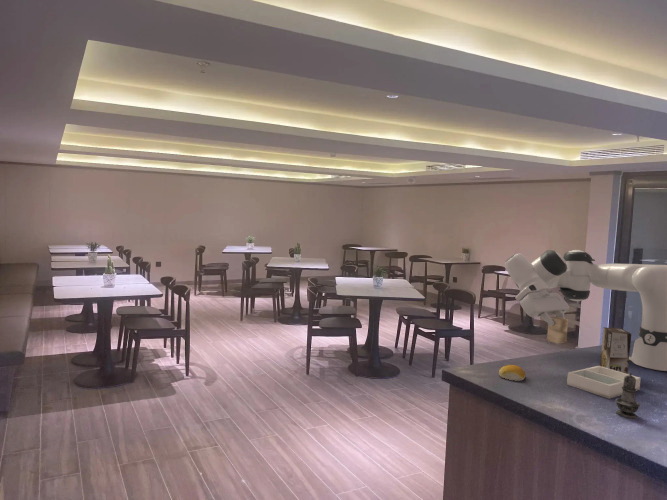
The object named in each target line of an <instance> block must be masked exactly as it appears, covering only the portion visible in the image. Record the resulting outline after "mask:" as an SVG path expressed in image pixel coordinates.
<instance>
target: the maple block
mask: <svg viewBox="0 0 667 500" xmlns="http://www.w3.org/2000/svg"><path fill="white" fill-rule="evenodd" d="M550 318H551V319H554V321H555V322H556V324H555V325H554V326H549V324H548V323H547V335H546V336H547V337H546V341H547V342H551V343H553V344H564V343H567V341H568V340H567V338H568V326H569V319H568V318H560V317H557V316H553V317H550Z"/></svg>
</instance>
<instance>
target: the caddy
mask: <svg viewBox="0 0 667 500" xmlns="http://www.w3.org/2000/svg"><path fill="white" fill-rule="evenodd" d="M629 374H630V373H628V374H626V373H622V372H619V371H615V370H612V369H608V368H605V367H601V366H600V365H596V366H592V367H586V368H582V369H578V370H573V371H569V372H567V377H566V379H567V380H566V386H571V387H573V388H575V389H579V390H582V391H585V392H588V393H591V394H593V395H595V396H596V395H598V396H600V397H602V398H606V399H609V400H610V399H613V398H617V397H621V396H622V391H623V389H622V387H623V384H624V377H625V376H628V375H629ZM631 376H633V377H634V378H635V379H636V384H635V389H636V390H637V391H640V389H641V377H639V376H635V375H634V374H632V375H631Z"/></svg>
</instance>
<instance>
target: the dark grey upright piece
mask: <svg viewBox="0 0 667 500" xmlns="http://www.w3.org/2000/svg"><path fill="white" fill-rule="evenodd" d="M628 374H629V375H628V376H625V377H624V384H623V387H622V389H623V391H622V395H620V398H619V397H618V398H616V399H615V403H616V406H617V408H618V410H616V411H615V414H616V415H617V416H619V417H622V418H626V419H630V420H631V419H634V420H635V419H638V415H637V414H636V412H637V411H638V410H639V407H640V406H641V404H640V403H639V402H637V401H636V392H637V391H638V390H636V389H635V384H636V379H635V378H634V377H633V376H634V375H633V374H632V372H629V373H628ZM631 375H633V376H631Z"/></svg>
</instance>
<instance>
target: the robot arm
mask: <svg viewBox="0 0 667 500" xmlns="http://www.w3.org/2000/svg"><path fill="white" fill-rule="evenodd" d="M593 262H596V259H595V258H592V256H591V254H589V252H586V251H583V250H580V249H573V250H569V251H567V252H564V254H563V256H562V255H561V253H559V252H557V251H556V250H551V249H549V250H545V251H544V252H543V253H542V254H541V255H540V256H539V257H537V258H536V259H534V260H533V261H532V262H530V260H529V259H528V258H527V257H526V256H525V255H524V254H523V253H522V252H516V253H514V254H512V256H510V257H509V258H507V259H506V260H505V262H504V267H505V269H506V271H507V274H508V275H509V277H510V279H511V280H512V282H513V283H514V284H515V285H516V287H517V288H518V290H519V293H517V294H516V296H515V300H516V301H517V302H519V305H520V307H521V308H522V309H523V311H524V313H526V315H527V316H529V317H530V318H535V317H537V318H538V317H540V318H541V319H542V320H543V321H544V322H546V323H547V325H548V324H549V326H554V325H555V324H556V322H555V321H554V319H551V318H552V317H550V316H555V317H560V318H565V313H568V311H569V310H570V309H571V308H570V306H569V304H568V302H567V301H566V300H565V299H567V300H570V301H573V302H582V301H584V300H587V299H589V297H590V293H591V290H590V288H591V284H592V285H593V286H596V287H598V288H602V289H604V290H611V291H613V290H614V291H623V292H635V293H636V292H637V293H639V296H640V300H641V307H642V312H641V313H642V315H641V325H640V327H639V330H638V336H639V337H637V339H635V340H634V343H633V349H632V354H631V355H629V361H631V362H632V363H633V364H635V365H637V366H639V367H643V368H646V369H649V370H656V371H662V372H667V264H641V263H640V264H639V263H601V264H595V263H593ZM558 287H559V289H558V292H560V293H561V295H562V296H561V295H560V294H559V293H558V292H554V291H553V290H551V289H554V288H558ZM563 297H564V298H565V299H564V298H563ZM565 319H566V318H565Z"/></svg>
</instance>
